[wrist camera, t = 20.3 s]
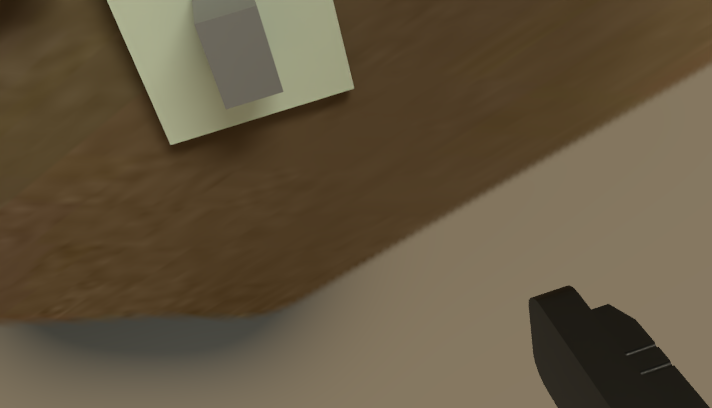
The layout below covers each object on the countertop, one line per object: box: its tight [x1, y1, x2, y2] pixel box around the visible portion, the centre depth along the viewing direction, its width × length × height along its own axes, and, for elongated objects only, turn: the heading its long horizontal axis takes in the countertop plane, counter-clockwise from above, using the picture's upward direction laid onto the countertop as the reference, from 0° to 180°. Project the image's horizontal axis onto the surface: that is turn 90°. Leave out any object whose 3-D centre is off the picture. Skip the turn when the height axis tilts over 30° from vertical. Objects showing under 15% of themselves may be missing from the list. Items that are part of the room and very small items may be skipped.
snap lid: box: [107, 0, 354, 145], centre depth 28 cm, size 9×9×6 cm
